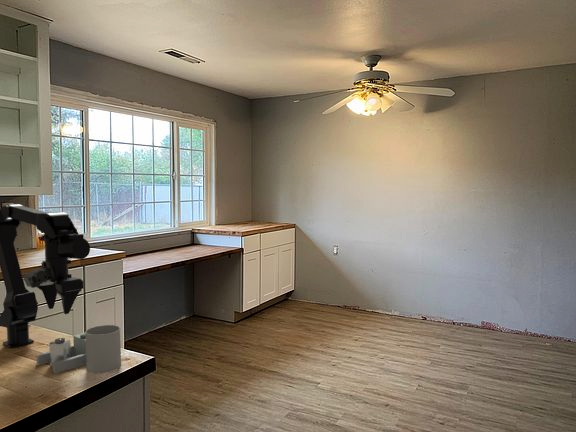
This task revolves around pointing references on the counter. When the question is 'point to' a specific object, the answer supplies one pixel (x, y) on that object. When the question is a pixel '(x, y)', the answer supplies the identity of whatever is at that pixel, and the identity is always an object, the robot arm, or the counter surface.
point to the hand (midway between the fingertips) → (58, 311)
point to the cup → (103, 349)
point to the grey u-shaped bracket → (69, 363)
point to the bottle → (59, 350)
